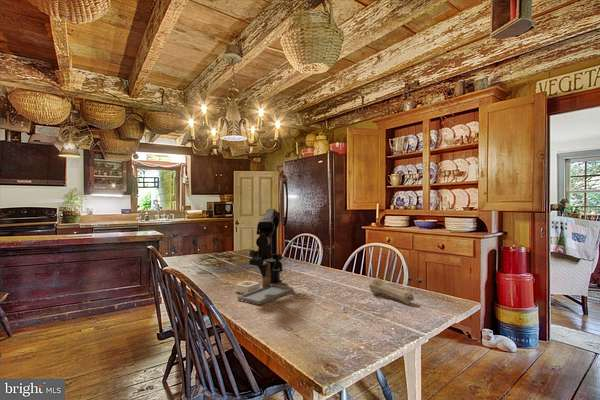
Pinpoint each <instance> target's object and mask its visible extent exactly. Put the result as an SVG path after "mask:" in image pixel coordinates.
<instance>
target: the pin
mask: <svg viewBox="0 0 600 400" xmlns="http://www.w3.org/2000/svg"><path fill="white" fill-rule="evenodd" d="M265 264H267V269H266V274H265V277H262V276H261V278H262V281H261V282H262V287H263V288H264V289H268V288H271V284H272V283H271V279H270V263H266V262H265Z"/></svg>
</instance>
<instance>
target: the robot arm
mask: <svg viewBox="0 0 600 400" xmlns="http://www.w3.org/2000/svg"><path fill="white" fill-rule="evenodd" d="M281 222H282V215H281V213H280V212H279V211H277V209H275V208H268V209H266V212H265V215H264V218H261V219H260V220H259V222H258V223H257V227H256V235H259V236H257V238H256V239H255V240H256V241H255V244H256V246H257V247H258V248H257V250H255V249H251V250H249V257H250V259H249V261H248V262H249V265H251V266H257V267H258V269H259V271H260V274H261V278H262V277H265V274H266V269H267V264H265V263H270V279H271V284H278V283H280V282H283V280H281V275H280V273H282V272H283V271H284V268H283V263H282V259H283V256H282V254H281V253H278V228H279V226H280V224H281Z"/></svg>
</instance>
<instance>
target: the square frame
mask: <svg viewBox="0 0 600 400" xmlns="http://www.w3.org/2000/svg"><path fill="white" fill-rule="evenodd" d="M259 288H261V283H260V282H257V281H252V280H245V281H241V282H238V283H235V286H234V290H235V291H236V292H235V293H237V292H241V293H240V294H242V293H248V292H251V291H254V290H256V289H259Z"/></svg>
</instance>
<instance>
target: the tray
mask: <svg viewBox="0 0 600 400" xmlns="http://www.w3.org/2000/svg"><path fill="white" fill-rule="evenodd" d="M289 292H290V293H293V292H294V287H293V286H288V285H287V286H286V285H281V284H278V283H271V288H268V289H264V288H263V286H261V287H260V288H259V289H256V290H254V291H251V292H248V293H245V294H242V293H241V294H240V295H237V300H238V299H239V300H238V301H240V300H243V301H242V302H244V301H247V302H246V303H248V302H250V303H249V304H252V303H254V304H253V305H256V304H258V305H257V306H261V305H260V304H262V305H264V304H266V303H268V302H267V301H269V302H270V300H271V301H273V300H275V298H276V299H278V298H280V297H283V296H285V295H288V294H289ZM287 293H288V294H287ZM284 294H285V295H284ZM282 295H283V296H282ZM279 296H280V297H279ZM277 297H278V298H277ZM272 299H273V300H272ZM265 302H266V303H265ZM263 303H264V304H263Z"/></svg>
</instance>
